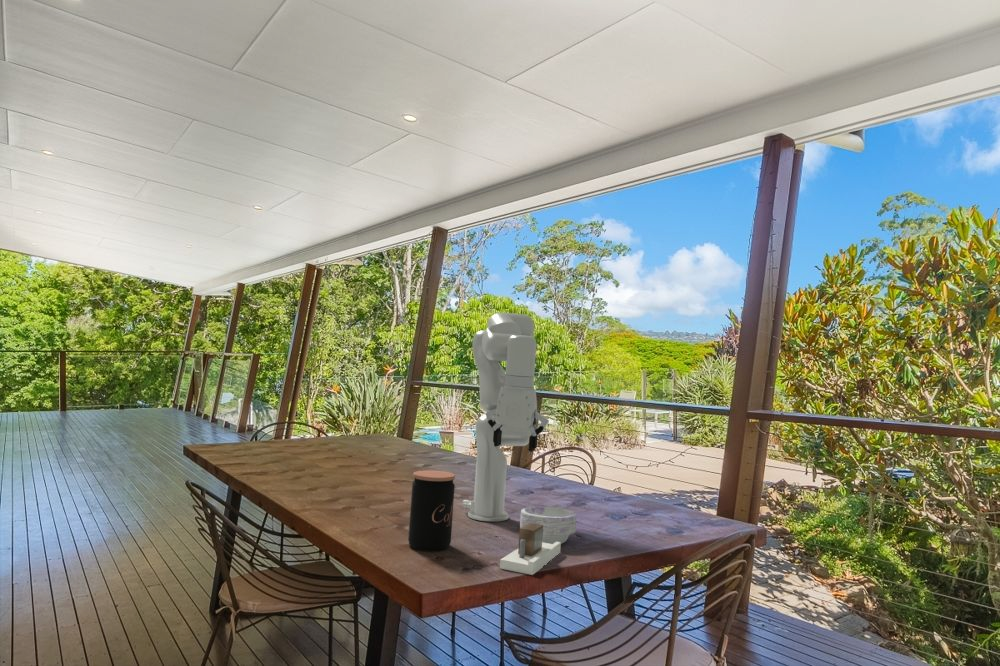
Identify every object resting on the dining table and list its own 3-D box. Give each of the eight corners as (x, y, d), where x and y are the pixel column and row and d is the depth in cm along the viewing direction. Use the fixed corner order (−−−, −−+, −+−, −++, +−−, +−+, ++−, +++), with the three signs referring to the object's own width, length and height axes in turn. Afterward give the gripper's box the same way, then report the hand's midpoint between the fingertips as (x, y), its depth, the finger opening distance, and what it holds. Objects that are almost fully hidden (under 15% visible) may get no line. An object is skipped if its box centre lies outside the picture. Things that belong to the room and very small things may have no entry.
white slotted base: (499, 568, 142) (501, 541, 142) (530, 548, 160) (532, 524, 160) (532, 575, 138) (534, 547, 139) (560, 553, 157) (561, 529, 157)
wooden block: (517, 553, 147) (519, 528, 148) (527, 547, 154) (529, 522, 154) (532, 556, 146) (534, 530, 146) (542, 549, 152) (543, 524, 152)
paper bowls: (533, 530, 179) (534, 502, 179) (583, 539, 172) (584, 510, 172) (509, 541, 166) (511, 511, 166) (562, 552, 158) (564, 520, 159)
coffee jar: (432, 555, 149) (438, 479, 150) (398, 546, 154) (404, 473, 155) (458, 546, 158) (463, 474, 159) (425, 537, 163) (430, 468, 164)
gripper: (483, 380, 162) (478, 445, 161) (546, 386, 155) (541, 454, 155) (494, 379, 169) (489, 442, 168) (555, 385, 162) (550, 451, 162)
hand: (514, 448), depth 161 cm, fingers open, 9 cm apart
